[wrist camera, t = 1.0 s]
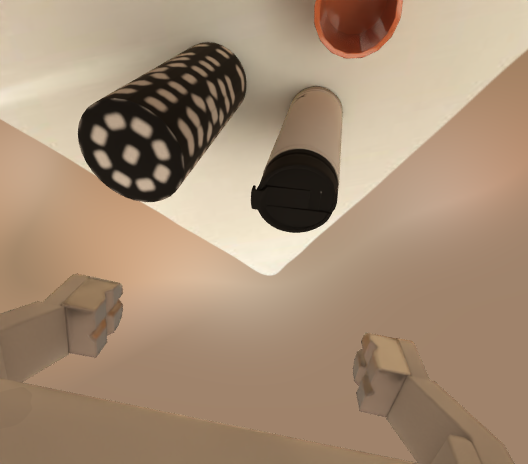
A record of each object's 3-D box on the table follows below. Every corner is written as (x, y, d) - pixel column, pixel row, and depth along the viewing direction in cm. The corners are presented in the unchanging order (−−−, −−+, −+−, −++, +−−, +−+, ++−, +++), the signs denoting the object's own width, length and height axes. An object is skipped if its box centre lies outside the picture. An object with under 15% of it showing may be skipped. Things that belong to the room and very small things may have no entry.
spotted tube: (226, 128, 45) (162, 219, 30) (169, 90, 43) (68, 164, 28) (259, 71, 40) (202, 143, 25) (195, 25, 38) (91, 72, 23)
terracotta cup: (322, -39, 33) (314, -37, 26) (395, -46, 32) (409, -47, 24) (321, 39, 37) (314, 60, 30) (386, 35, 36) (395, 56, 28)
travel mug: (288, 83, 40) (250, 161, 25) (347, 88, 39) (345, 174, 24) (284, 135, 44) (249, 231, 29) (337, 141, 43) (330, 244, 28)
